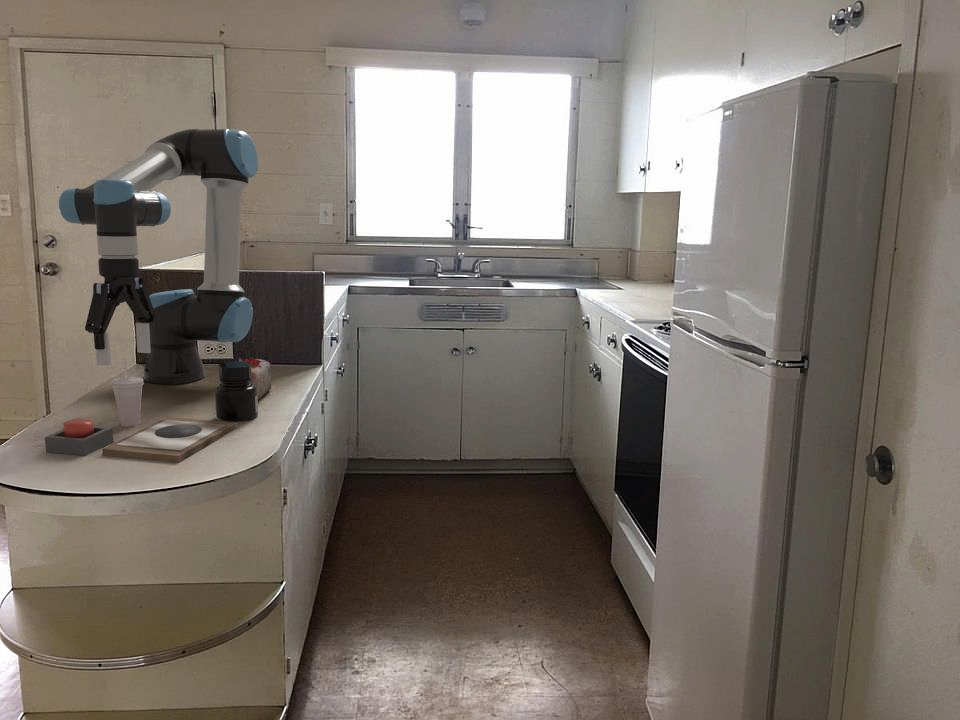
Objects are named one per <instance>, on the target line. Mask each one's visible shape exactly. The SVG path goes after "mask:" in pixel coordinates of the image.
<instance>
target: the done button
mask: <svg viewBox="0 0 960 720" xmlns="http://www.w3.org/2000/svg"><path fill="white" fill-rule="evenodd" d="M62 425H63V429H64V436H65V437H72V438H83V437H87V436H90V435H92V434H94V426H95V425H94V420H93V419H90V418H74V419H69V420H67V421H64V422H63V423H62Z"/></svg>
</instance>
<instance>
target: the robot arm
mask: <svg viewBox="0 0 960 720" xmlns="http://www.w3.org/2000/svg"><path fill="white" fill-rule="evenodd" d="M258 168H259V158H258V152H257V149H256V146H255V144H254V141H253V140H252V138H251V136H250V135H249V134H248V133H247V132H245V131H243V130H237V129H230V128H226V129H222V128H221V129H220V128H219V129H214V128H213V129H211V128H210V129H205V128H204V129H198V128H187V129H183V130H180V131H177V132H173V133H172V134H169V135H166V136H165V137H163V138H159V140H157V141H155V142H153V143H151V144H150V145H148V147H147V148H146V149H145V153H143V154H141V155H140V156H138V157H136V158H135V159H133V160H131V161H129V162H128V163H127V164H124V165H123V166H121V167H120V168H119V167H118V169H116V170H114V171H112V172H111V173H109V174H107V175H106V176H103V178H101V179H97V180H96V181H94V183H92V184H91V185H88V186H87V187H83V188H78V187H76V188H68V189H65V190H64V191H62V193H61V194H60V196H59V199H58V208H59V213H60V215H61V216H62V218H63V219H64V220H65V221H66V222H68V223H70V224H79V225H83V226H86V225H95V226H96V238H97V239H96V241H97V242H96V243H97V254H98V255H99V256H100V257H99V259H98V260H97V261H98V263H97V264H98V272H99V273H98V274H99V276H101V277H103V278H104V282H103V283H102V282H94V283H93V284H92V297H91V302H90V306H89V308H88V314H87V318H86V321H85V327H84V330H85V331H86V332H88V333H89V334H93V342H94V349H95V357H96V359H95V361H96V365H97V366H111V365H112V358H111V357H112V356H111V343H110V333H109V332H107V330H108V327H109V325H110V323H111V320H112V318H113V316H114V313H115V311H116V309H117V307H118V306H120V305H121V304H122V303H126V304H127V306H128V307H129V309H130V311H131V312H132V314H133V315H134V317H135V319H137V321H138V322H135V333H136V334H135V336H136V350H137V353H141V354H147V357H146V361H145V365H144V369H143V381H145V382H147V383H151V384H161V385H163V384H164V385H171V384H173V385H174V384H186V383H191V382H195V381H199V380H202V379H203V378H205V376H206V371H205V366H204V364H203V361H202V358H201V356H200V354H199V351H198V349H197V342H199V341H201V342H202V341H203V342H215V343H224V344H225V343H238V342H240V341H241V340H243V339H244V338H245V337H246V336H247V334H248V333H249V331H250V330H251V326H252V323H253V317H254V316H253V315H254V310H253V307H252V306H253V304H252V302H251V300H250V299H249V298H247V297H245V290H244V289H243V288H242V287H241V285H240V262H241V261H240V257H241V256H240V255H241V254H240V253H241V251H240V250H241V230H242V229H241V226H242V224H241V223H242V221H241V220H242V199H243V197H242V193H243V191H244V190H245V189H246V188H248V186H249V178H250V179H251V178H253V177H255V176H256V175H257V172H258ZM182 176H183V177H184V176H186V177H187V176H193V177H195V176H197V177H200V182H201V183H202V184H203V186H204V187H205V188H206V205H205V206H206V207H205V233H204V235H205V237H204V263H203V264H204V266H203V267H204V269H203V283H201V285H200V286H198V287H197V289H196V290H197V294H196V295H195V292H194V290H193V289H192V288H191V289H189V288H187V289H185V288H183V289H175V290H167V291H166V290H165V291H161V292H155V293H151V294H150V295H149V293H148V289H147V287H146V280H145V278H144V277H138V276H139V274H140V267H139V265H140V264H139V263H140V262H139V259H138V258H137V257H136V256H138V255H139V245H138V244H139V242H138V236H137V232H138V231H137V227H155V226H160V225H162V224H164V223H166V222H167V221H168V220H169V218H170V216H171V213H172V212H171V211H172V207H171V203H170V201H169V198H167V196H166V195H165V194H163V193H162V192H159V191H156V190H155V191H154V190H152V189H154V188H155V187H156V186H158V185H159V184H162V182H165V181H172V180H175V179H176V178H178V177H182Z"/></svg>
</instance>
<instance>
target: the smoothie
mask: <svg viewBox="0 0 960 720" xmlns="http://www.w3.org/2000/svg"><path fill="white" fill-rule="evenodd" d="M122 362H123V363H122V364H123V375H124V376H123V377H118V378H115V379H112V380H111V381H110V383H111V384H110V386H111V387H112V390H113V393H114V398H115V403H116V408H117V412H118V417H119V421H120V425H121V426H122V427H135V426H139V425H140V424H141V413H142V412H141V409H142V397H143V395H142V393H143V385H144V384H145V382H144V377H143V378H142V377H141V376H140V377H139V376H128V368H127V360H126V359H123V360H122Z"/></svg>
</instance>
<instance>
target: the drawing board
mask: <svg viewBox="0 0 960 720" xmlns="http://www.w3.org/2000/svg"><path fill="white" fill-rule="evenodd" d="M237 427H238V426H237V422H233V421H220V420H219V421H218V420H206V419H205V420H204V419H193V418H181V417H169V416H167V417H166V418H164V419H161V420H159V421H157V422H155V423H153V424H151V425H149V426H147V427H145V428H143V429H141V430H138V431H137V432H135V433H134V432H133V433H132V434H130V435H128V436H126V437H123V438H121V439H120V440H118V441H116V442H115V441H114V442H113V443H111V444H109V445H107V446H104V447H102V448H101V449H102V455H103V456H108V457H109V456H110V457H111V456H112V457H123V458H132V459H134V458H135V459H143V460H155V461H166V462H176V463H181V462H183V461H184V460H186V459H187V458H189V457H190V456H193V455H194V454H196V453H197V452H199V451H201V450H203V449H204V448H206V447H208V446H210V445H211V444H212V443H214V442H216V441H218V440H219V439H221V438H223V437H224V436H226V435H228V434H230V433H231V432H233V431H234V430H236V429H237Z"/></svg>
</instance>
